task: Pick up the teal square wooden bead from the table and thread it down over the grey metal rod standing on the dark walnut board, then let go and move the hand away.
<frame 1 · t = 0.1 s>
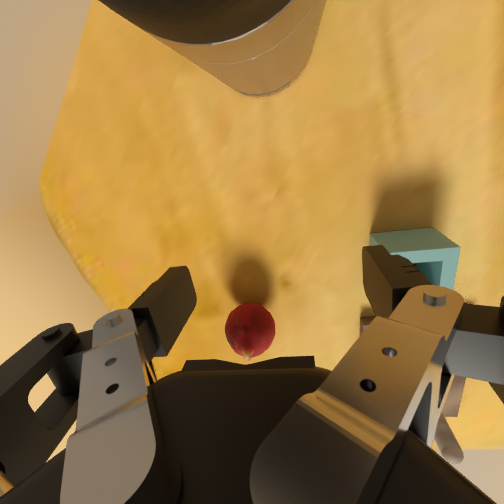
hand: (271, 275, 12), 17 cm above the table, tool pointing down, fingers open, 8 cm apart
onion: (254, 308, 35), on the table
bead: (399, 256, 29), on the table
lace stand: (408, 364, 35), on the table
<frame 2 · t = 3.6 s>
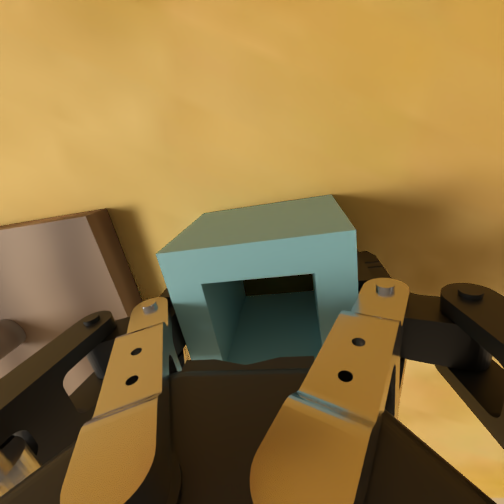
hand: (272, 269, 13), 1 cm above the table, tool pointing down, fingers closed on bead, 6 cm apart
bead: (274, 262, 13), on the table, touching gripper
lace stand: (33, 316, 17), on the table
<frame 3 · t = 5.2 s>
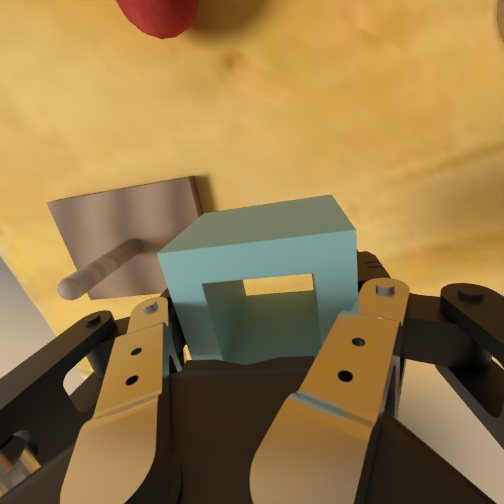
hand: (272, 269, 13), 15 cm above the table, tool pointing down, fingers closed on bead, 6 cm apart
onion: (177, 9, 22), on the table
bead: (274, 262, 14), point 14 cm above the table, touching gripper
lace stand: (140, 241, 30), on the table
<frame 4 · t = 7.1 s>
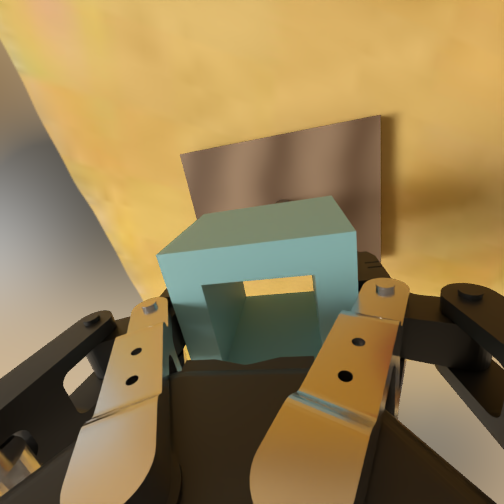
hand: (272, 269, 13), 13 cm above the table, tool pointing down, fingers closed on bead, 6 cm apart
bead: (274, 263, 13), point 12 cm above the table, touching gripper
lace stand: (283, 205, 25), on the table
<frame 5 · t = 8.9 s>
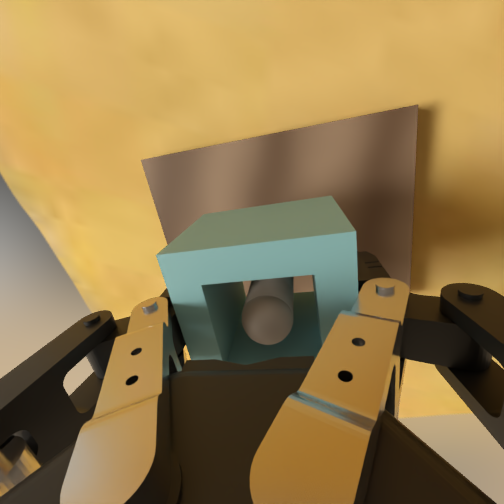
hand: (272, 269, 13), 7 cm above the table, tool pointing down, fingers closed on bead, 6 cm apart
bead: (274, 263, 13), point 6 cm above the table, touching gripper
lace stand: (280, 226, 19), on the table
when the fingers open (3 cm above the table, at t = 10.7 s): bead stays where it is, resting on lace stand.
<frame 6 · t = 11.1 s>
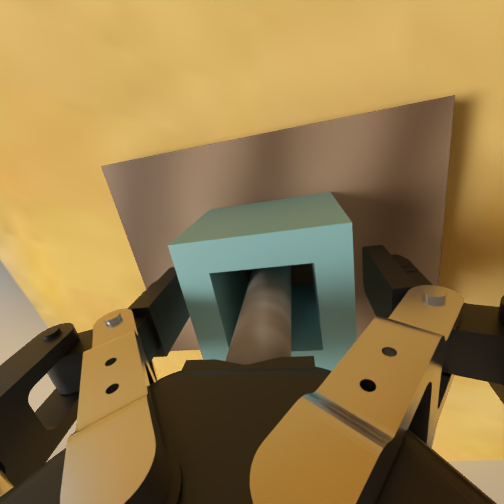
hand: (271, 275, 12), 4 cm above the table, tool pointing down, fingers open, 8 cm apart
bead: (275, 256, 14), point 1 cm above the table, touching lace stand
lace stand: (276, 246, 16), on the table
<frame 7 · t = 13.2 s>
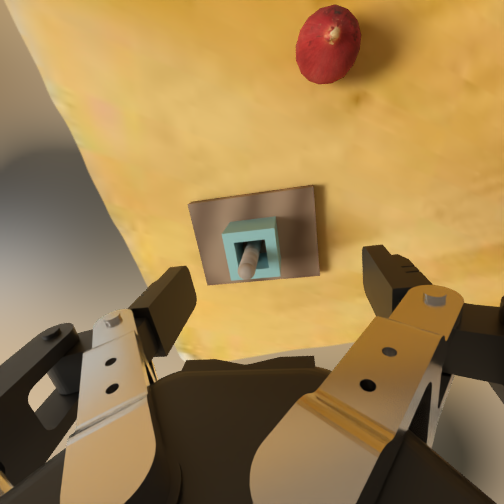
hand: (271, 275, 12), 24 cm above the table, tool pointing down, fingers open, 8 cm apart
onion: (321, 59, 29), on the table
bead: (255, 240, 36), point 1 cm above the table, touching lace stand
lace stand: (256, 237, 37), on the table
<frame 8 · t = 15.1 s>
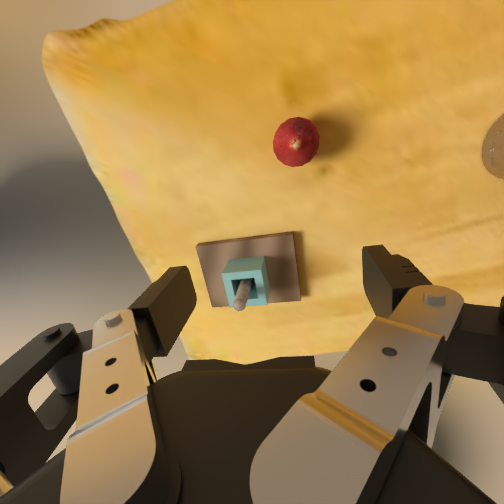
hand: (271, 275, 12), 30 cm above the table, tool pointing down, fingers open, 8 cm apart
onion: (295, 142, 38), on the table
bead: (249, 274, 45), point 1 cm above the table, touching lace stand
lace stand: (250, 269, 46), on the table
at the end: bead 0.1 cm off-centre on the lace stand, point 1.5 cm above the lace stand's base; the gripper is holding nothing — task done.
